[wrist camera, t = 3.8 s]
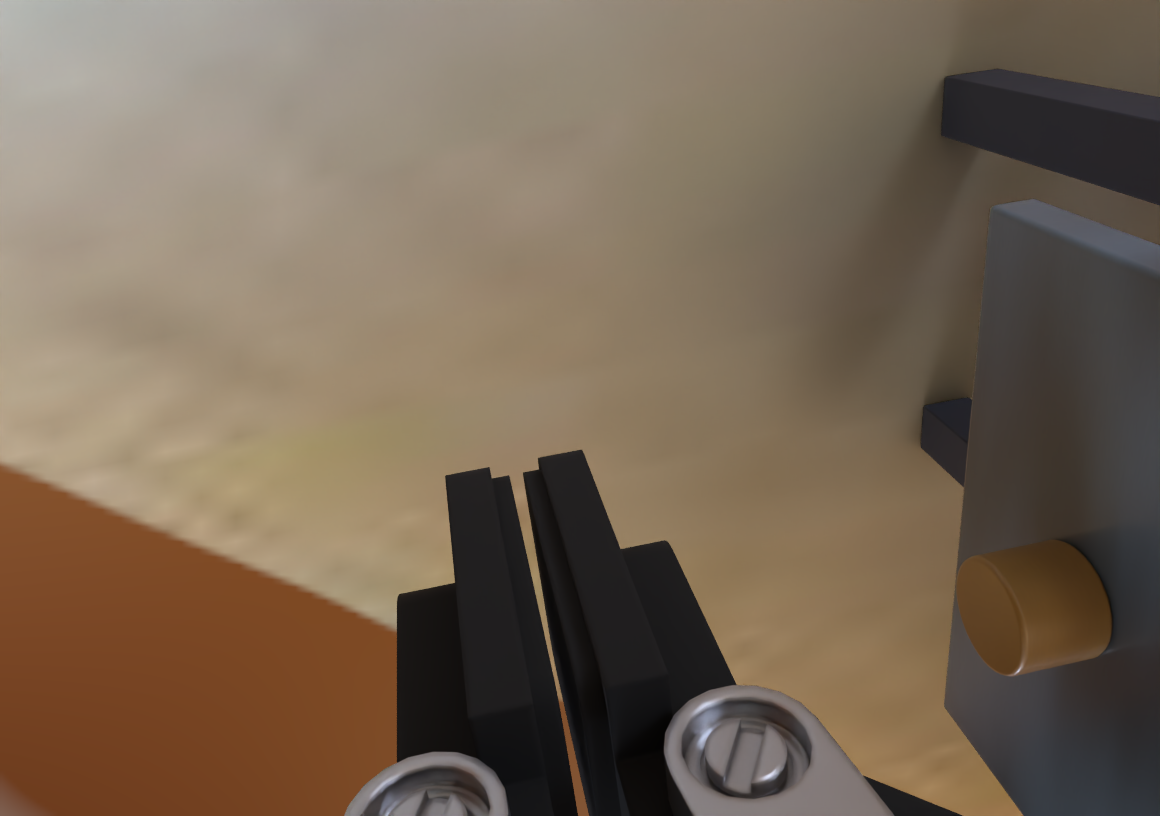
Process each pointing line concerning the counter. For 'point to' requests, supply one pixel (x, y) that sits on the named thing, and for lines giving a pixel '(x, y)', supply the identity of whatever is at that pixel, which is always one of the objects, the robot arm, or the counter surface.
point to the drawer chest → (1054, 142)
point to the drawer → (1063, 519)
